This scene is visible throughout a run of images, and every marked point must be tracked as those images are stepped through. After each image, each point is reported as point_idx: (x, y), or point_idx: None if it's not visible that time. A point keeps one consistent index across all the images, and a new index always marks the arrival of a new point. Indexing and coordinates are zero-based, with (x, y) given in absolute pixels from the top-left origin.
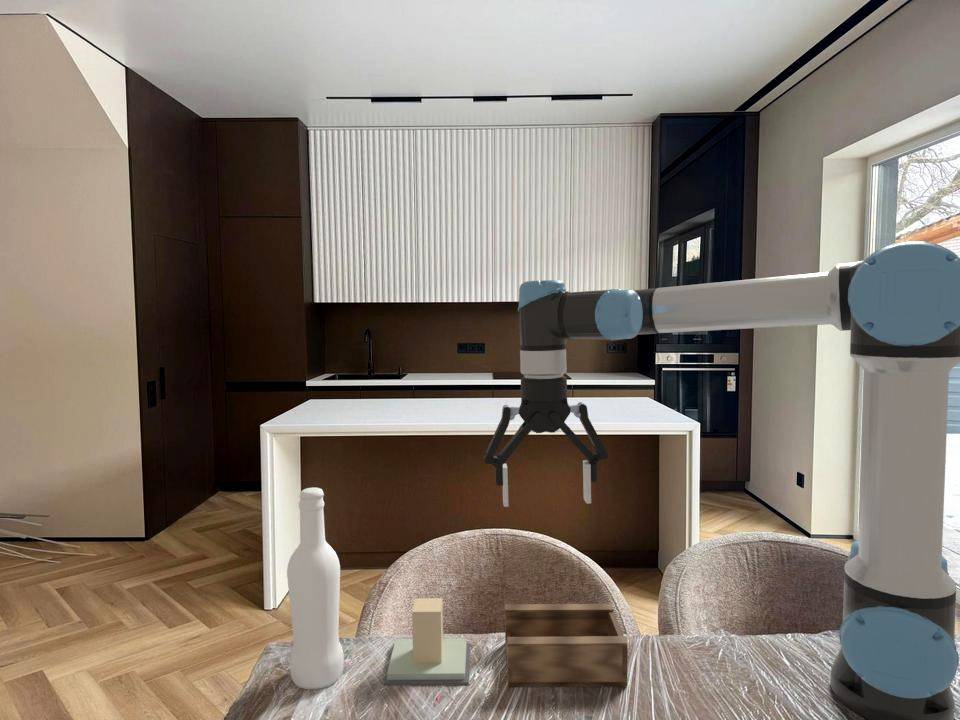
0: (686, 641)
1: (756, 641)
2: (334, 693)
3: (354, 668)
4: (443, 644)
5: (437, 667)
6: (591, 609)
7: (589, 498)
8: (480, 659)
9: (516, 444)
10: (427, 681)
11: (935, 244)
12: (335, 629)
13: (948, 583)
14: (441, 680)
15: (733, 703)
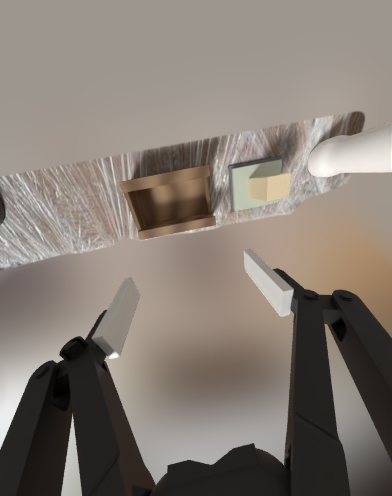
0: (102, 240)
1: (59, 248)
2: (309, 141)
3: (299, 173)
4: (248, 201)
5: (250, 173)
6: (153, 228)
7: (124, 283)
8: (223, 197)
9: (305, 360)
10: (254, 162)
11: None
12: (343, 149)
13: None
14: (245, 165)
15: (61, 175)
